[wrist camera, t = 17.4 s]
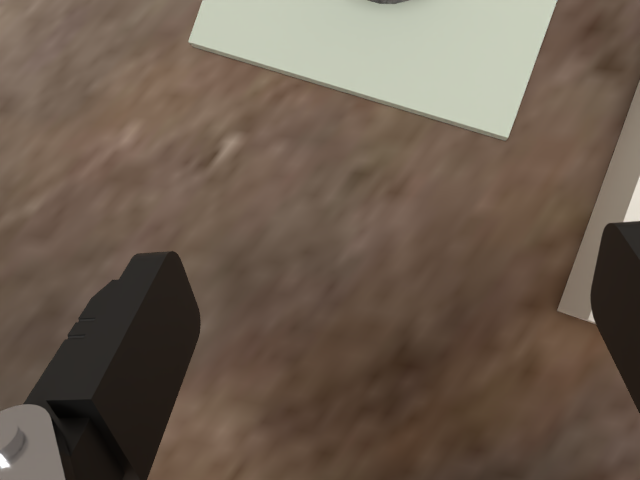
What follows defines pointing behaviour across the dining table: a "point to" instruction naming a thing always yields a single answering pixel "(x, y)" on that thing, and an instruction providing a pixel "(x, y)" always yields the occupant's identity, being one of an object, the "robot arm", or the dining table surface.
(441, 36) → the mat
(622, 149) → the holder
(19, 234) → the dining table surface
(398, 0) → the grey chess piece
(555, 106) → the dining table surface
